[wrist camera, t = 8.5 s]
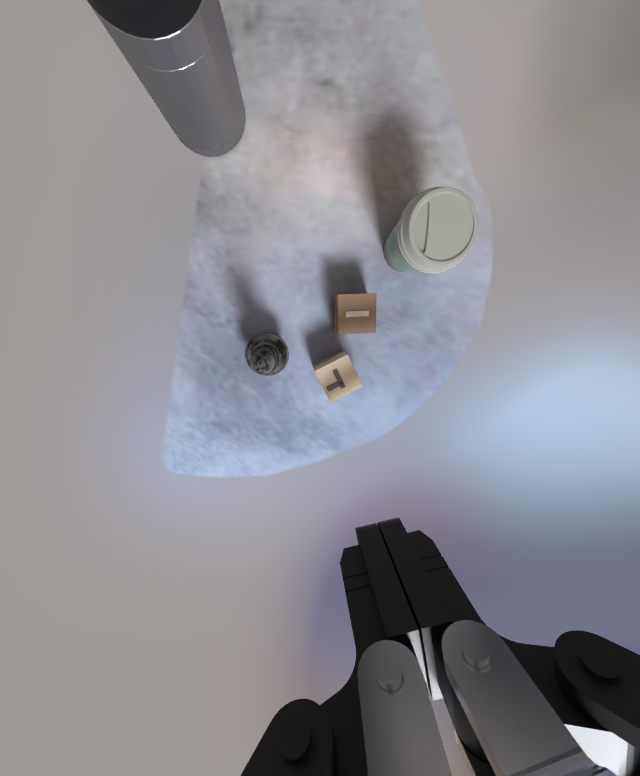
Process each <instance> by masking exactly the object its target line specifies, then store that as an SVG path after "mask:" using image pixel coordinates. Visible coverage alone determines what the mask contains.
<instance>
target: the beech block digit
mask: <svg viewBox="0 0 640 776" xmlns="http://www.w3.org/2000/svg"><path fill="white" fill-rule="evenodd" d="M313 368H314V371H315V373H316V375H317V377H318V379H319V381H320V383H321V385H322V387H323V389H324V391H325V392H326V394H327V396H328V398H329V400H330V402H333V401H335V400H337V399H339V398H341V397H343V396H345V395H347V394H349V393H351V392H353V391H355V390H357V389H359V388H361V387H363V385H362V383H361V381H360V379H359V377H358V375H357V373H356V371H355V369H354V367H353V364H352V362H351V360H350V358H349V356H348V354H347V353H345V352H344V351H343V350H341V351H339V352H337V353H335V354H333V355H331V356H329V357H327V358H325V359H323V360H321V361H319V362H318V363H316V364H314V365H313Z"/></svg>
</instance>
